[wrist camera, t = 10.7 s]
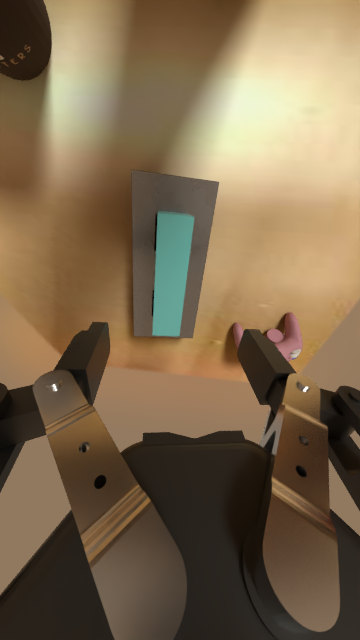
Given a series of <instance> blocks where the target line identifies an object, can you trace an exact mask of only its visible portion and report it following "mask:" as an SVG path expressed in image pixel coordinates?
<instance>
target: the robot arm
mask: <svg viewBox="0 0 360 640" xmlns="http://www.w3.org/2000/svg"><path fill="white" fill-rule="evenodd" d="M109 353H110V339H109V328H108V323H107V322H92V324H91V326H90V328H89V329H88V331H83V330H82V331H81V332H79V333H78V334H77V335H75V336H74V338H73V339H72V341H71V343H70V344H69V346H68V347H67V350H66V351H65V352H64V354H63V356H62V357H61V359H60V360H59V362H58V364H57V365H56V367H55V369H54V370H53V371H51V372H48V373H46V374H44V375H42V376H41V377H39V378H38V379H37V380H36V381H35V383H34V384H33V385H30V386H26V387H21V388H17V389H12V390H8V389H7V387H6V386H5V385H4V384H2V383H0V492H1V490H2V488H3V486H4V484H5V482H6V480H7V478H8V476H9V474H10V472H11V470H12V468H13V465H14V463H15V461H16V459H17V457H18V455H19V453H20V451H21V449H22V447H23V445H24V443H25V441H28V440H31V439H34V438H37V437H40V436H43V435H47V437H48V440H49V443H50V446H51V449H52V452H53V455H54V458H55V461H56V464H57V467H58V470H59V473H60V476H61V479H62V482H63V485H64V488H65V491H66V493H67V497H68V500H69V503H70V506H71V511H70V512H69V513H68V514H67V515H66V517H65V518H64V519H63V520H62V521H61V523H60V524H59V525H58V526H57V527H56V529H55V530H54V531H53V532H52V533H51V535H50V536H49V537H48V538H47V539H46V541H45V542H44V543H43V544H42V545H41V547H40V548H39V549H38V550H37V552H36V553H35V554H34V555H33V556H32V557H31V559H30V560H29V561H28V562H27V564H26V565H25V566H24V567H23V568H22V569H21V571H20V572H19V573H18V574H17V576H16V577H15V578H14V579H13V580H12V582H11V583H10V584H9V585H8V586H7V588H6V589H5V590H4V591H3V592H2V594H1V595H0V640H360V536H359V535H358V534H357V533H356V532H355V531H354V530H353V529H352V528H350V527H349V526H348V525H347V524H346V523H345V522H344V521H343V520H342V519H341V518H340V517H338V515H336V513H334V512H333V511H332V510H331V509H330V498H329V459H330V461H331V462H332V464H333V466H334V468H335V470H336V471H337V473H338V475H339V477H340V478H341V480H342V481H343V483H344V485H345V487H346V488H347V490H348V491H349V493H350V495H351V497H352V498H353V500H354V502H355V504H356V505H357V507H358V509H359V510H360V449H359V448H358V447H357V445H356V444H355V442H354V441H353V440H352V438H351V437H350V435H351V433H352V432H353V431H356V432H357V433H358V434H359V436H360V391H359V390H357V389H355V388H352V387H349V386H340V387H339V388H338V389H337V391H336V392H331V391H327V390H324V389H320V388H319V387H318V385H317V384H316V383H315V382H314V381H313V380H311V379H310V378H308V377H307V376H304V375H302V374H297V373H296V372H295V370H294V369H293V368H292V366H291V365H290V364H289V363H288V361H287V360H286V359H285V357H284V356H283V355H282V353H281V352H280V351H279V349H278V348H277V347H276V346H275V344H274V343H273V342H271V341H270V340H269V339H267V338H265V337H264V336H263V334H262V333H261V332H260V330H257V329H245V330H244V332H243V335H242V338H241V341H240V344H239V347H238V351H237V355H238V359H239V361H240V363H241V365H242V367H243V370H244V372H245V374H246V376H247V378H248V380H249V382H250V384H251V386H252V388H253V390H254V393H255V395H256V397H257V399H258V401H259V403H260V405H270V407H271V409H270V410H269V413H268V416H267V420H266V423H265V427H264V431H263V434H262V438H261V442H260V444H259V445H258V444H256V443H254V442H252V441H249V440H246V439H245V438H244V435H243V432H242V431H218V432H215V433H212V434H208V435H206V436H202V437H199V438H190V437H186V436H182V435H178V434H174V433H170V432H160V433H143V441H141V442H138V443H136V444H133V445H131V446H130V447H128V448H126V449H125V450H123V451H122V452H121V453H120V452H119V450H118V448H117V446H116V444H115V443H114V441H113V439H112V437H111V436H110V434H109V432H108V431H107V429H106V427H105V426H104V424H103V422H102V420H101V418H100V417H99V415H98V413H97V411H96V410H95V408H94V407H93V406H92V405H93V403H94V400H95V397H96V394H97V390H98V387H99V384H100V381H101V378H102V375H103V372H104V369H105V366H106V363H107V360H108V357H109ZM90 405H91V406H90Z"/></svg>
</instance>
